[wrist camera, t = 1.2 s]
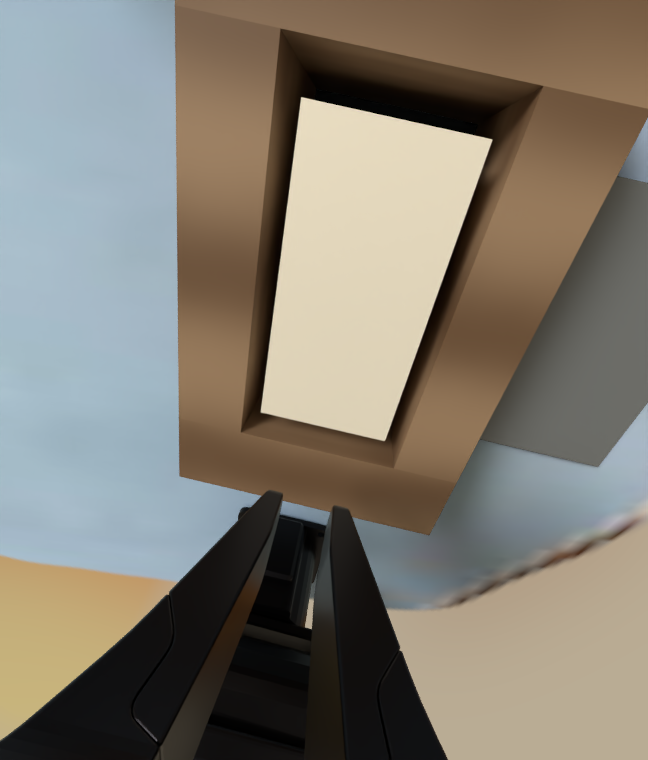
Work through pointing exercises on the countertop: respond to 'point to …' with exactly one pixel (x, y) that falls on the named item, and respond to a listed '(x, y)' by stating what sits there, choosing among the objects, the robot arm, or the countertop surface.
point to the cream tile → (362, 261)
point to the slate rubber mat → (587, 344)
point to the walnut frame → (470, 254)
